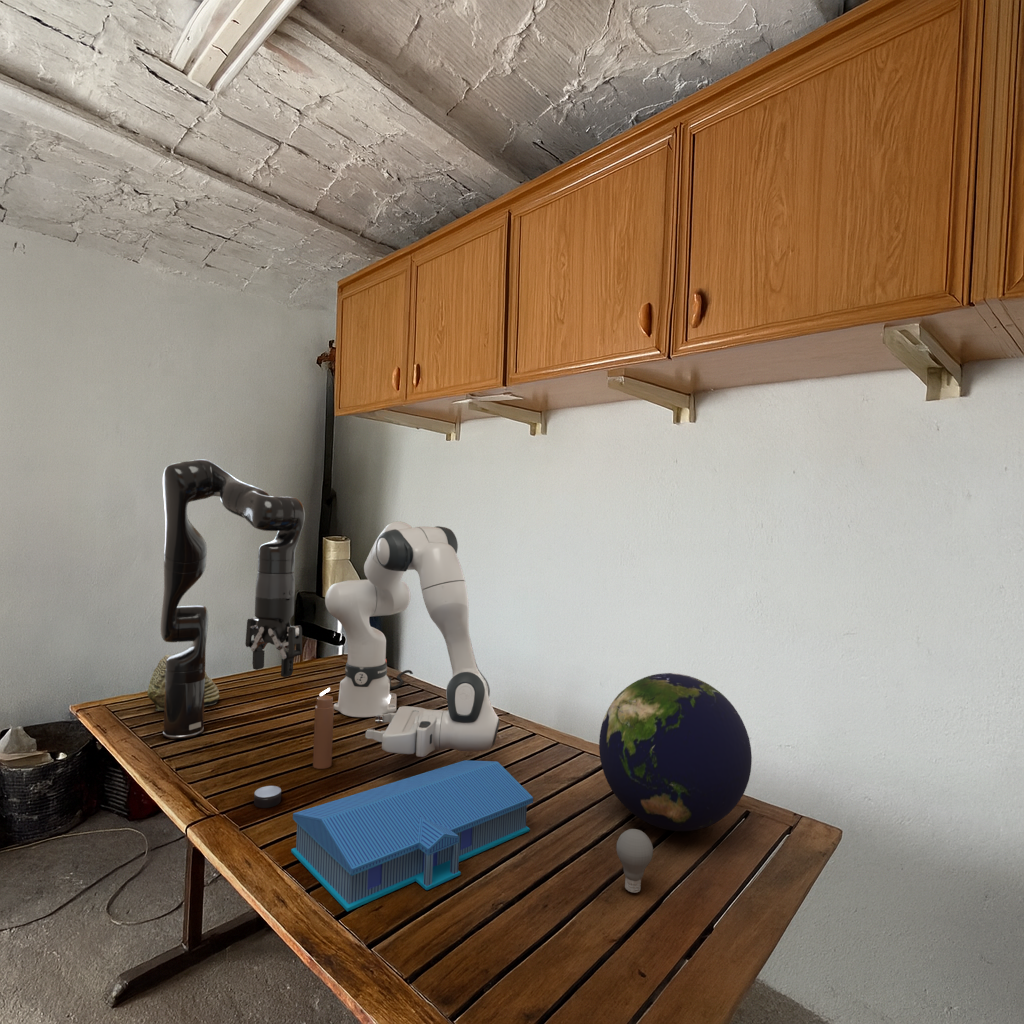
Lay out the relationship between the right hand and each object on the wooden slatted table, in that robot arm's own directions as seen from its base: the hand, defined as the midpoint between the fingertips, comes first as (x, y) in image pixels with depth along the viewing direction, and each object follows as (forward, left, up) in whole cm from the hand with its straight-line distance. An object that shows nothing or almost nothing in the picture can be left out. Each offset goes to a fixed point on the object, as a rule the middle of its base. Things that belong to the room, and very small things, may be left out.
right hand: (371, 725), depth 149 cm
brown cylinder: (0, -11, -10) cm, 15 cm away
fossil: (-34, -63, -10) cm, 73 cm away
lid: (+19, -17, -8) cm, 27 cm away
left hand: (+19, -17, +17) cm, 31 cm away
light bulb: (+43, +55, -10) cm, 70 cm away
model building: (+32, +17, -10) cm, 38 cm away
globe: (+19, +66, -10) cm, 70 cm away
